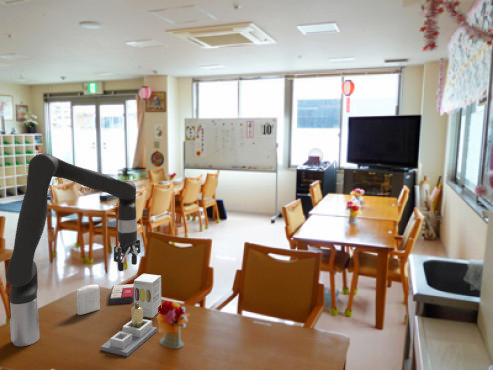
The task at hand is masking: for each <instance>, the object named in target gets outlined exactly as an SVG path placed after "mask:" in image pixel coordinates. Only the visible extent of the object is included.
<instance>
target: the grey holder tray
mask: <svg viewBox="0 0 493 370" xmlns="http://www.w3.org/2000/svg"><path fill="white" fill-rule="evenodd" d="M157 331H158V327H157V326H153V320H149V319H144V318H143V326H142V327H141V328H135V327H132V319H131V320H130V321H128V322H127V323H126V324H124V325H122V330H121V331H120V330H119V331H118V332H117V333H116V334H114V335H113V336H112V337H110V338H109V339H108V340H107V341H106V342H105V343H104V344H102V345H100V351H104V352H107V353H110V354H111V353H112V354H116V355H120V356H123V357H129V356H130V355H131V354H132V353H133V352H134V351H136V350H137V349H138V348H139V347H140V346H141V345H143V344H144V343H145V342H146V341H147V340H148V339H150V338H151V337H152V336H153V335H154V334H155V333H156V332H157Z"/></svg>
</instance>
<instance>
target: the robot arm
mask: <svg viewBox="0 0 493 370" xmlns="http://www.w3.org/2000/svg"><path fill="white" fill-rule="evenodd" d="M27 169H28V170H27V179H26V189H25V193H24V196H23V199H22V202H21V208H20V211H19V214H18V219H17V223H16V230H15V235H14V236H15V237H14V243H13V244H14V245H13V250H12V254H11V257H10V260H9V263H8V266H7V268H6V271H5V280H6V281H7V283H8V284H9V285H10V288H11V289H10V292H9V307H10V318H9V328H10V330H9V331H10V341H11V343H12V344H13V346H15V347H26V346H30V345H33V344H35V343H36V342H38V341H39V340H40V336H41V335H40V320H39V307H38V286H39V284H38V283H39V282H38V267H37V264H36V262H35V261H34V260H35V254H36V250H37V247H38V246H39V244H40V243H39V242H40V241H41V238H42V235H43V233H44V229H45V226H46V221H47V217H48V208H49V206H48V205H49V204H48V192H49V189H50V184H51V182H52V179H53V178H59V179H63V180H64V179H65V180H68V181H71V182H73V183H75V184H78V185H80V186H83V187H85V188H89V189H91V190H93V191H98V192H101V193H105V194H109V195H111V196H113V197H115V198H118V203H119V204H118V210H117V211H118V213H117V215H118V217H117V218H118V219H117V220H118V221H117V241H118V242H119V246H114V248H113V262H115V263H117V270H118V271H119V272H124V270H125V262H124V261H125V259H126V258H127V257H128V255H131V258H130V259H131V265H132V266H133V265H134V266H135V265H137V264H138V256H139V254H141V240H140V239H138V222H137V207H136V203H137V185H136V184H135V183H134V182H133V181H131V180H124V181H123V180H121V179H118V178H117V179H116V178H115V177H113V176H111V175H109V174H105V173H101V172H98V171H95V170H91V169H88V168H84V167H80V166H77V165H75V164H71V163H70V162H67V161H65V160H63V159H60V158H59V157H56V156H55V155H52V154H50V153H39V154H36V155H34V156H33V157H31V159H30V161H29V163H28V168H27Z"/></svg>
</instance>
